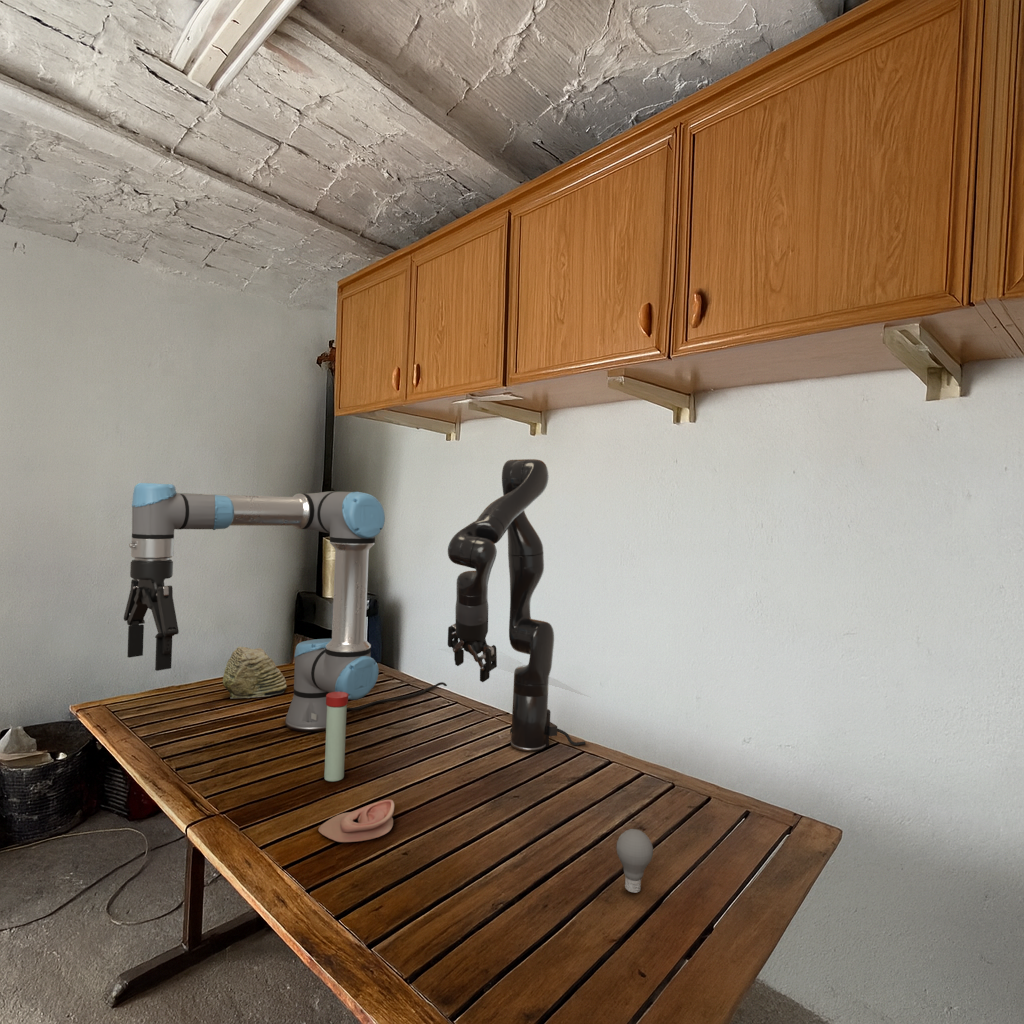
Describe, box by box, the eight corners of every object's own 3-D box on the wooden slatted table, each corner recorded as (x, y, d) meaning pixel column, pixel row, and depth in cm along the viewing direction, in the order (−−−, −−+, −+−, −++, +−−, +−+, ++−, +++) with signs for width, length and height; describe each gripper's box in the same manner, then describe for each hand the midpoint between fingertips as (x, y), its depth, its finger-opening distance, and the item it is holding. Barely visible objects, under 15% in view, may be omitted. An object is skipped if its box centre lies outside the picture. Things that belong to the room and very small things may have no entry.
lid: (350, 705, 142) (350, 696, 142) (328, 708, 140) (328, 699, 140) (345, 699, 146) (345, 690, 146) (324, 701, 144) (324, 692, 144)
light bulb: (610, 879, 108) (613, 822, 108) (644, 879, 109) (647, 822, 109) (619, 902, 102) (622, 840, 102) (655, 901, 103) (658, 840, 103)
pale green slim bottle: (345, 779, 142) (348, 698, 142) (326, 782, 140) (329, 700, 140) (341, 771, 146) (344, 693, 146) (322, 774, 144) (325, 694, 144)
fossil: (218, 695, 195) (220, 647, 195) (278, 685, 208) (279, 640, 207) (228, 703, 189) (230, 653, 188) (289, 692, 201) (290, 645, 201)
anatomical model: (310, 816, 117) (339, 789, 129) (309, 837, 117) (338, 808, 129) (377, 827, 115) (401, 798, 126) (376, 848, 115) (400, 818, 126)
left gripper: (108, 554, 134) (104, 654, 134) (159, 565, 118) (155, 678, 119) (146, 552, 140) (143, 648, 140) (199, 563, 124) (195, 671, 124)
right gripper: (505, 621, 143) (503, 678, 150) (462, 596, 152) (462, 652, 159) (482, 634, 138) (481, 693, 145) (438, 609, 147) (439, 665, 154)
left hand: (148, 662), depth 129 cm, fingers open, 13 cm apart
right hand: (471, 671), depth 152 cm, fingers open, 8 cm apart
